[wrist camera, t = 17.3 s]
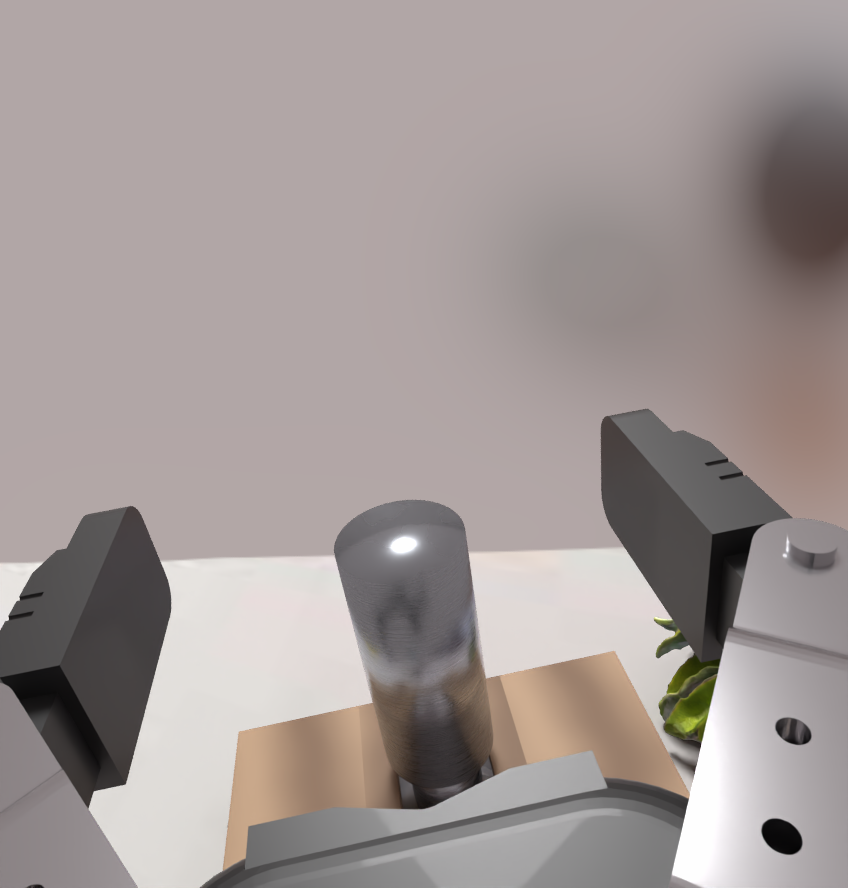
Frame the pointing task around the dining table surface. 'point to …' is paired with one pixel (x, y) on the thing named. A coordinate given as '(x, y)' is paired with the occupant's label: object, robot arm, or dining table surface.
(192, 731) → the dining table surface
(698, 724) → the passion flower
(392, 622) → the keyhole post
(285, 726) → the keyhole plate
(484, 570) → the dining table surface
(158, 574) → the robot arm
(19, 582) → the dining table surface
